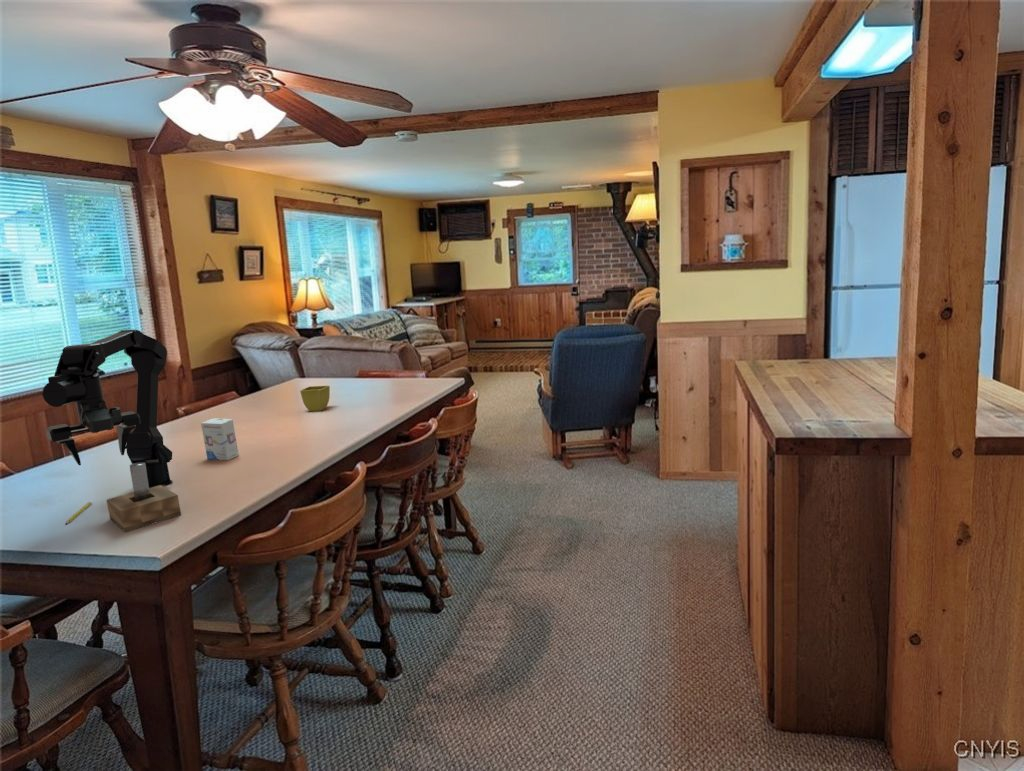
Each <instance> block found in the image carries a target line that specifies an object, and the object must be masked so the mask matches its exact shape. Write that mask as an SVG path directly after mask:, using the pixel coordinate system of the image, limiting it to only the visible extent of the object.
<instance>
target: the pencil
mask: <svg viewBox="0 0 1024 771" xmlns="http://www.w3.org/2000/svg"><path fill="white" fill-rule="evenodd" d="M91 504H92V505H93V503H92V502H91V501H88V502H87V503H86V504H84V505H83V507H81V508H80V509H78V511H76V513H74V514H73V515H72V516H71V517H69V518H68V519H67V520H66V522H65V524H64V525H65V526H67V525H69V524H71V523H72V522H74V520H75V519H77V518H78V517H79V516H80V515H81V514H82V513H83V512H85V511H86V510H87V509H88V508H89V507H90V506H92V505H91ZM84 510H85V511H84Z"/></svg>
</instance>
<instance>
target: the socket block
mask: <svg viewBox="0 0 1024 771" xmlns="http://www.w3.org/2000/svg"><path fill="white" fill-rule="evenodd" d="M149 491H150V498H148V499H145V500H141V501H138V502H135V497H134V491H133V492H130V493H126V494H123V495H119V496H115V497H111V498H107V499H106V504H107V510H108V514H109V519H110V521H111V522H113V523H114V524H115V525H116V526H117V527H118V528H119V529H121V530H122V531H123V532H124V533H127V532H130V531H132V530H136V529H140V528H142V527H146V525H147V526H149V524H150V525H152V523H153V524H155V522H156V523H159V521H160V522H163V521H165V520H170V519H173V518H176V517H179V516H181V515H182V512H181V507H180V500H179V495H178V494H177V493H175V492H174V491H172V490H170V489H168V488H166V487H165V485H159V486H155V487H151V488H149ZM162 520H163V521H162Z"/></svg>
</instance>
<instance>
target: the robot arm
mask: <svg viewBox="0 0 1024 771" xmlns="http://www.w3.org/2000/svg"><path fill="white" fill-rule="evenodd" d="M122 351H123V353H124V354H126V355H127V356H128V357H129V358H130V361H131V362H130V363H131V367H132V368H133V369H134V371H135V372H136V374H137V380H136V381H137V385H136V405H135V406H136V407H135V408H136V409H135V410H136V411H132V410H130V411H124V412H121V408H120V407H119V406H115V407H110V408H108V407H107V404H106V401H105V398H104V392H103V388H102V382H101V378H100V377H101V376H104V375H106V372H105V371H104V370H102V369H100V368H99V367H100V366H102V365H103V364H104V363H106V360H107V358H108V357H109V356H113V355H115V354H117V353H119V352H122ZM167 356H168V351H167V348H166V346H165V345H163V343H162V342H160V341H159V340H158V339H156V338H153V337H152V336H149V335H146V334H145V333H143V332H142V331H141V330H138V329H134V328H133V329H122V330H120V331H118V332H116V333H114V334H111V335H108V336H106V337H103V338H101V339H99V340H97V341H96V340H95V341H94V342H91V343H81V344H73V345H67V346H65V347H63V348H62V350H61V354H60V357H59V359H58V363H57V365H56V366H57V367H56V370H55V373H54V376H48V378H47V379H48V383H46V384H45V386H44V387H43V390H42V398H43V400H44V401H45V403H47V404H48V406H51V407H55V408H59V407H60V408H61V407H63V406H65V405H69V404H73V403H75V406H76V410H77V417H78V421H79V424H76V425H71V426H70V425H68V424H66V423H61V424H55V425H51V426H47V428H46V430H45V433H46V438H47V440H49V441H51V442H53V443H54V442H56V443H57V444H60V445H62V444H63V446H64V447H65V448H66V449H67V451H68V452H69V453H70V455H71V456H72V457H73V459H74V461H75V462H76V464H77V465H78V466H81V465H82V463H81V457H80V454H79V452H78V449H77V446H76V443H75V442H76V441H75V439H74V438H72V437H71V436H72V435H74V434H78V433H79V434H80V433H85V432H90V433H92V434H97V433H99V432H104V431H111V430H113V429H115V428H114V426H116V431H117V432H116V433H117V440H118V448H119V452H120V456H125V452H126V455H127V456H128V458H129V460H130V463H131V464H134V463H139V462H144V463H145V465H146V472H147V478H148V485H149V488H151V487H155V486H159V485H162V486H165V485H169V484H173V480H171V476H170V472H169V466H168V463H170V462H171V461H172V460H173V451H172V450H171V449H169V448H168V447H167V446H166V445H165V444H164V437H163V435H162V433H161V432H160V430H159V429H158V426H157V424H158V402H159V401H158V399H159V398H158V396H159V395H158V394H159V375H160V373H161V372H162V371H163V370H164V368H165V366H166V363H167ZM131 431H132V432H131Z"/></svg>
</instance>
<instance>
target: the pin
mask: <svg viewBox="0 0 1024 771" xmlns="http://www.w3.org/2000/svg"><path fill="white" fill-rule="evenodd" d="M129 471H130V478H131V483H132V488H133V492H134V497H135V502H138V501H141V500H145V499H148V498H150V491H149V485H148V478H147V472H146V465H145V463H144V462H139V463H134V464H132V463H131V464H129Z"/></svg>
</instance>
